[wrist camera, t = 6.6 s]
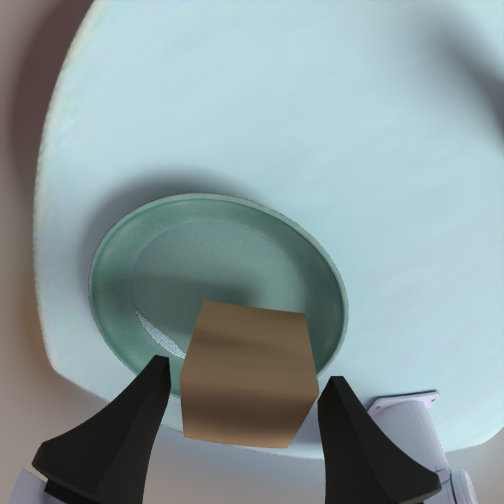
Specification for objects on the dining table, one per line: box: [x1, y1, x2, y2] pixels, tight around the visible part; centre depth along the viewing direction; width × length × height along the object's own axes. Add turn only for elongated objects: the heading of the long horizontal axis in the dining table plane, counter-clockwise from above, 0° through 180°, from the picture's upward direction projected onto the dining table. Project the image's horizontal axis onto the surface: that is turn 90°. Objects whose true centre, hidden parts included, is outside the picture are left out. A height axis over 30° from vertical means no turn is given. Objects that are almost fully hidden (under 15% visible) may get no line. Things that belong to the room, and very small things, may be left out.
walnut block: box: [180, 300, 320, 448], centre depth 12 cm, size 5×5×5 cm
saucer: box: [88, 193, 348, 399], centre depth 15 cm, size 15×15×3 cm
